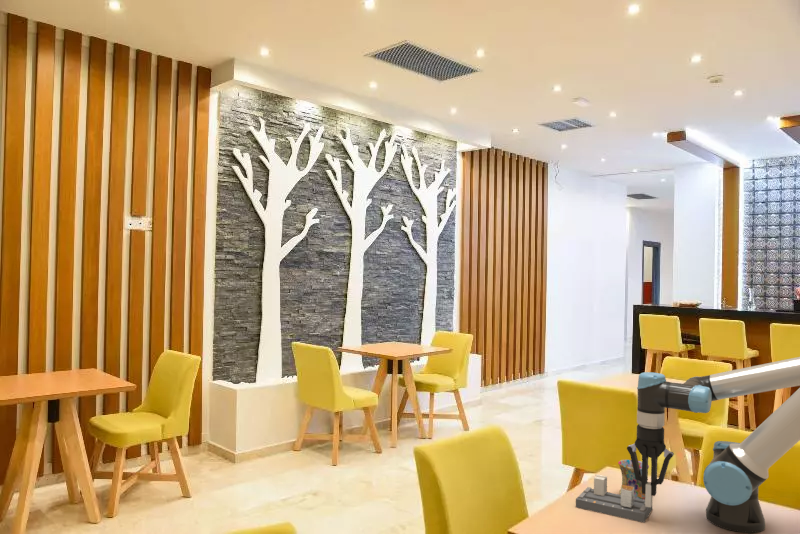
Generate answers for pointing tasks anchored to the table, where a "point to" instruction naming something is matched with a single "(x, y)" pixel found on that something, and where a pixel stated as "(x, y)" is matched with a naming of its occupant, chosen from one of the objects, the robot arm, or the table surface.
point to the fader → (627, 496)
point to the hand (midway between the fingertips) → (648, 505)
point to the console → (610, 502)
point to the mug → (631, 477)
